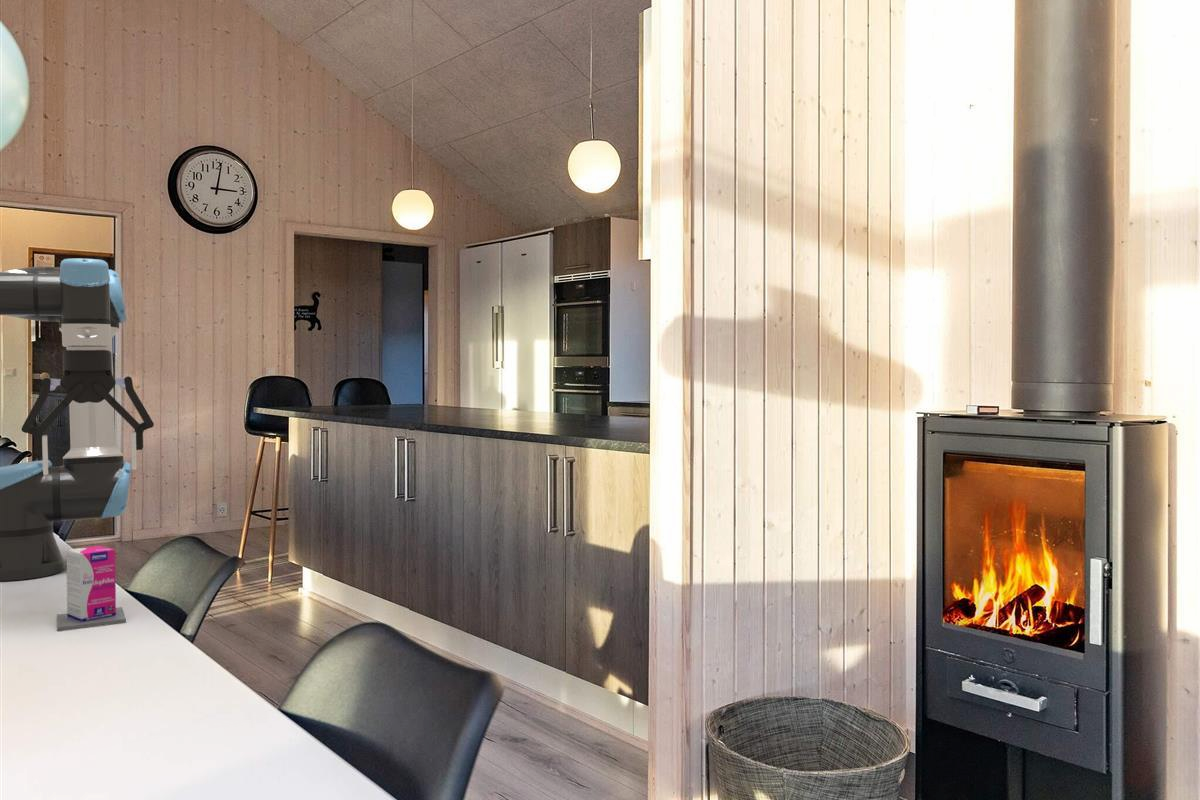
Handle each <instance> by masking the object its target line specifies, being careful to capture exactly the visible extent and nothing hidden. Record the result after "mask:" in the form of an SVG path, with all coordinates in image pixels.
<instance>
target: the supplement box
mask: <svg viewBox="0 0 1200 800" xmlns="http://www.w3.org/2000/svg"><path fill="white" fill-rule="evenodd" d="M116 587H117V586H116V549H114V548H111V547H106V546H103V545H94V546H86V547H84V546H83V547H80V548H79V547H78V548H70V549H66V607H67V608H66V610H67V611H66V613H67V617H69V618H72V619H75V620H77V621H80V622H83V621H87V620H92V619H97V618H103V617H108V616H115V615H116V607H117V604H116V603H117V602H116V600H117V598H116V593H117V592H116V591H117V588H116Z"/></svg>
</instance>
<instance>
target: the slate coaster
mask: <svg viewBox="0 0 1200 800" xmlns="http://www.w3.org/2000/svg"><path fill="white" fill-rule="evenodd" d="M125 623H127V618H126V615H125V612H124V608H123V606H118V607H117V606H116V615H115V616H108V617H103V618H97V619H92V620H87V621H83V622H80V621H77V620H75V619H72V618H69V617H67V612H66V613H58V614H56V624H57V625H56V626H57V628H56V629H57V630H56V631H57V632H61V631H69V630H76V629H78V630H79V629H85V628H94V627H101V626H109V625H117V624H125Z"/></svg>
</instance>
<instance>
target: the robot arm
mask: <svg viewBox="0 0 1200 800" xmlns="http://www.w3.org/2000/svg"><path fill="white" fill-rule="evenodd" d="M120 279H121V278H120V276H119V274H118V273H117V272H116V271H115V270H114V269H113V270H112V269H109V264H108V262H107V261H105V260H103V259H98V258H97V259H95V258H78V257H77V258H74V257H73V258H64V259H63V260H61V262H60V266H58V267H57V266H31V267H23V268H16V269H9V270H4V271H0V316H8V317H13V318H18V319H24V320H28V321H36V322H49V323H50V322H54V323H55V322H57V323H58V331H60V332H61V343H62V345H61V346H63V347H64V348H66V349H65V350H63V352H62V377H61V378H50V377H48V376H47V377H43V379H42V384H41V385H42V386H41V391H40V393H39V395H38V397H37V398H36V401H35V402H34V404H33V406H32V407H31V409H30V411H29V413H28V415H27V417H26V418H25V420H24V423H23V424H22V426H21V432H23V433H24V434H30V435H32V436H33V439H34V440H33V442H34V453H35V456H36V455H37V456H38V455H39V456H41V455H42V459H41V460H33V461H27V462H26V461H25V462H21V463H14V464H8V465H5V466H0V582H5V581H6V582H7V581H21V580H29V579H36V578H42V577H48V576H51V575H56V574H58V573H61V572H63V571H64V570H65V569H64V568H65V565H64V558H63V555H62V553H61V550H60V547H59V545H58V543H57V541H56V538H55V535H54V522H64V521H78V520H92V519H93V520H95V519H100V520H103V519H106V518H112V517H120V516H122V515H123V514H124V513H125V511H127V510H126V509H127V506H128V505H127V504H128V497H129V491H130V490H129V489H130V479H131V471H133V470H134V471H135V470H137V469H138V465H137V463H138V460H137V451H139V450H141V451H143V448H144V432H145V430H149V429H152V428H154V425H155V424H154V422H153V419H152V418H151V416H150V414H149V413H148V410H146V408H145V406H144V405H143V403H142V401H141V400H140V399H141V398H139V396H138V394H137V392H136V391H135V389H134V383H133V377H131V376H129V375H127V376H123V377H117V378H115V377H114V365H113V364H114V363H113V357H114V356H113V337H114V336H116V335H117V333H119V332H120V324H123V323H125V322H126V321H127V313H126V308H125V307H126V306H125V299H124V292H123V288H122V284H121V280H120ZM116 385H118V386H119V388H120V389H121V390H125V392H126V394H127V396H128V397H129V399H130V401H131V403H132V404H133V406H134V408H135V409H136V411H137V413H138V414H139V416H140V418H141V419H142V421H143V422H138V421H137V419H135V418H134V417H133V416H132V415H131V414H130V412H128V411H127V409H125V408H124V407H123V406H122V405H121V404H120V402H119V401H117V399H115V397H114V396H115V395H114V393H115V391H114V387H115V386H116ZM58 386H61V388H62V389H63V390H64V392H66V395H65V396H64V397H63V398H62V399H61V400H60V401H59V402H58V403H57V405H56V406H55V407H54V408H53V409H52V410H51V412H50V413H49V414H48V415H46V417H45V418H44V419H43V420H42V421H41V422H40V423H39V424H38V425H37V426H33V425H34V423H35V421H36V419H37V418H38V416H39V413H40V411H41V409H42V408H43V406H44V404H45V403H46V400H47V398H48V396H49V394H50V392H53V391H55V390H56V388H57V387H58ZM68 406H69V430H70V431H69V435H70V436H69V437H70V438H69V439H70V442H69V444H70V449H69V450H68V451H67V453H65V455H64V456H63V457H62V465H59V466H53V463H52V462H51V460H50V459H49V454H48V453H49V449H48V448H49V447H48V434H44V432H45V431H46V430H47V429H48V428H49V427H50V426H51V424H53V422H54V421H55V420H56V419H57V418H58V417H59V416H60V415H61V413H62V412H64V411H65V409H66V408H67V407H68ZM115 412H117V413H118V414H119V415H120V416H121V418H123V420H124V421H125V422H127V423H128V424H129V426H130V427H132V429H133V430H134V431H130V432H129V434H130V435H129V438H130V439H129V440H130V442H129V443H130V462H127V461H124V453H122V452H121V451H120V450H119V449H118V448H117V447H116V431H115V429H116V428H115Z"/></svg>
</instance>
